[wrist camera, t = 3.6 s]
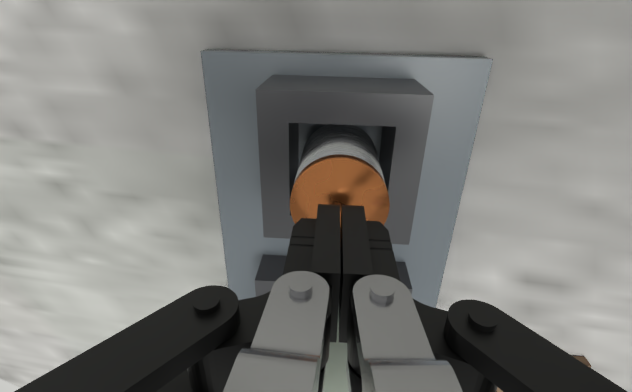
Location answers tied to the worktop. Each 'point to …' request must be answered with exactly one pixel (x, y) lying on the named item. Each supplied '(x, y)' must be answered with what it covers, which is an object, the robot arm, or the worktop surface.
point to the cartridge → (336, 366)
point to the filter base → (340, 109)
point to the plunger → (339, 174)
